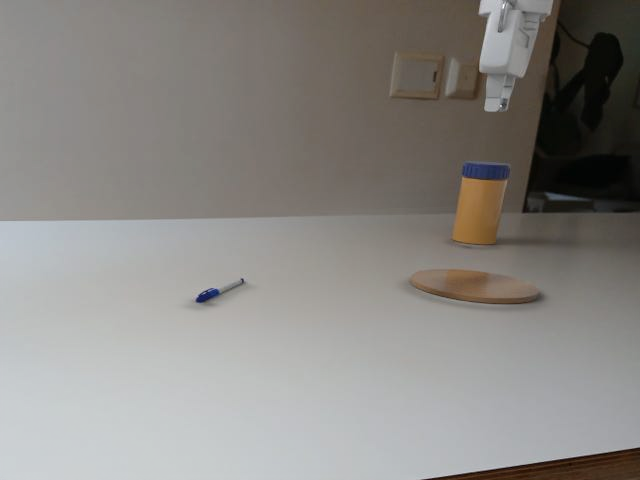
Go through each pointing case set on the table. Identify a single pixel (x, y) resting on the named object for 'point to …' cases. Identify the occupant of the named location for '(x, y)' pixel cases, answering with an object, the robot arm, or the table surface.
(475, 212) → the jar
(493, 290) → the coaster
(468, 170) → the lid
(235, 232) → the table surface
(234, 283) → the ballpoint pen
